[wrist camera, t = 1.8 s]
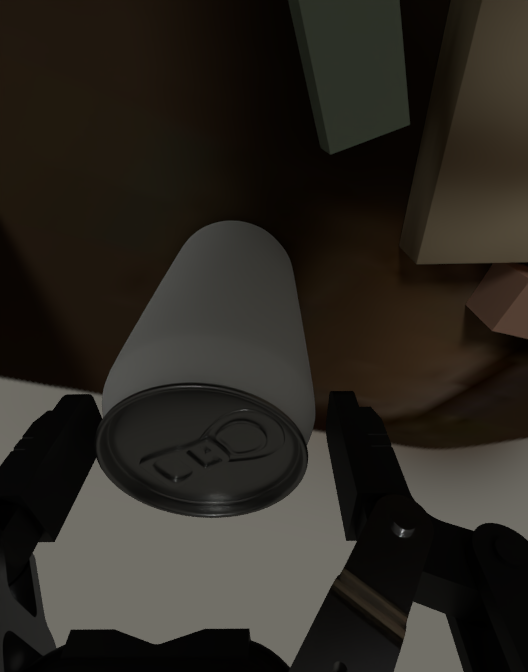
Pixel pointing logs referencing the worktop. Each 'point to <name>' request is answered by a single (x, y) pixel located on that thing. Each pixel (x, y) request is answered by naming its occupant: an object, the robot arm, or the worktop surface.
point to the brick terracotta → (503, 299)
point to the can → (213, 382)
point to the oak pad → (474, 142)
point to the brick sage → (352, 68)
